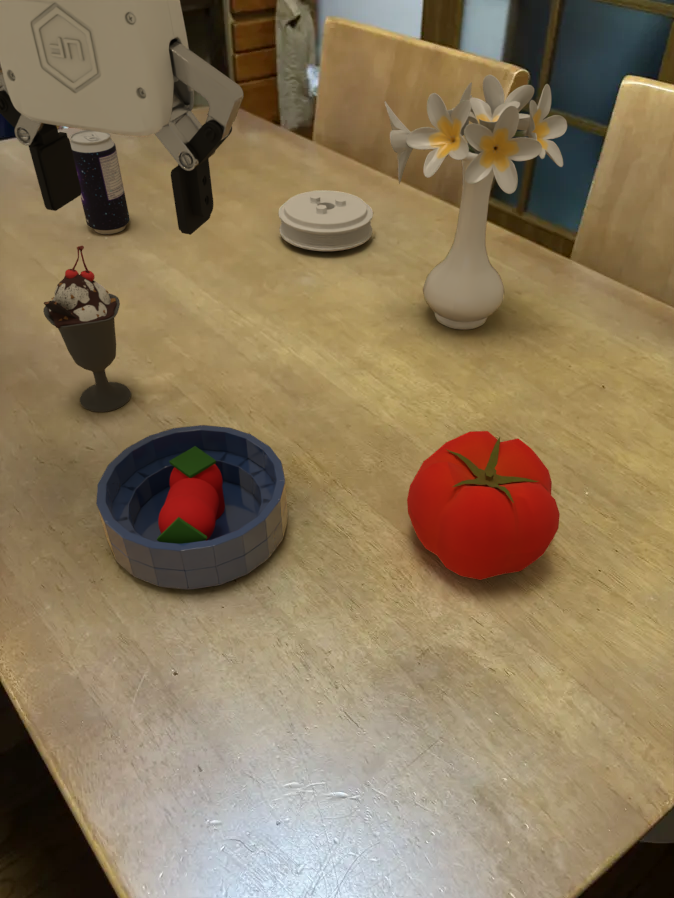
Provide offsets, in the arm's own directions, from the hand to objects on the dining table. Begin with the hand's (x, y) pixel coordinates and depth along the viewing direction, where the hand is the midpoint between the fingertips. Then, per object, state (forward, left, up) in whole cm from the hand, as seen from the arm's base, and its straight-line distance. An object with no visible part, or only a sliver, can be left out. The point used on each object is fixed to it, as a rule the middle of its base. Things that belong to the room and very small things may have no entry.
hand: (129, 214), depth 49 cm
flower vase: (0, +40, -24) cm, 47 cm away
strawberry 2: (+6, -2, -20) cm, 21 cm away
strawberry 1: (+4, -1, -24) cm, 24 cm away
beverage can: (-49, +26, -24) cm, 61 cm away
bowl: (+5, -2, -24) cm, 25 cm away
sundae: (-16, +3, -24) cm, 29 cm away
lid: (-26, +45, -24) cm, 57 cm away
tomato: (+23, +12, -24) cm, 36 cm away
